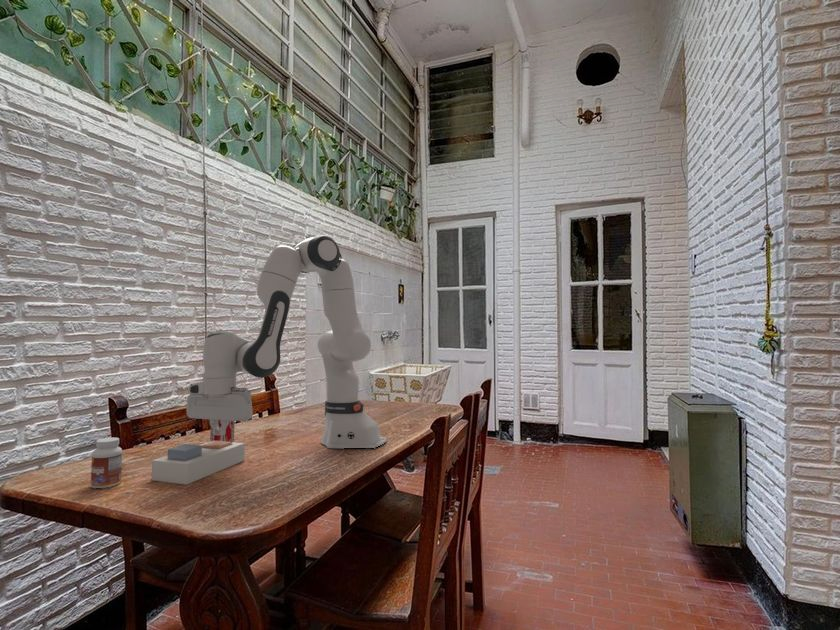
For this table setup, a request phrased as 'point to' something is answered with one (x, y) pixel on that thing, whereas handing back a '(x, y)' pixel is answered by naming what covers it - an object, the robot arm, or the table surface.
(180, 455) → the slate key
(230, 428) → the soda can
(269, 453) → the table surface
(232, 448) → the key box
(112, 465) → the pill bottle
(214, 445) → the terracotta key
